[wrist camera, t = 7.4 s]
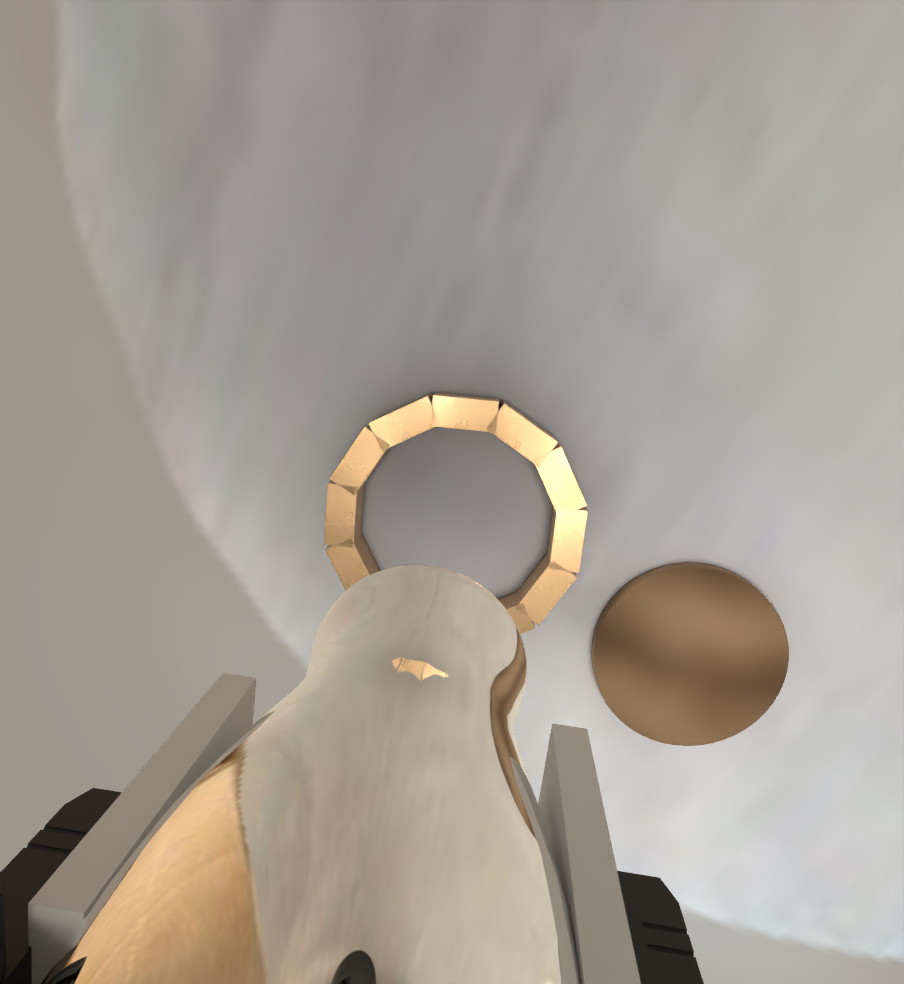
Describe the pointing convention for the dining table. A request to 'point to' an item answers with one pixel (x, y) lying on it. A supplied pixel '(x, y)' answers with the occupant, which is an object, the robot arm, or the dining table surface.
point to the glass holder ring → (466, 414)
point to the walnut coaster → (689, 654)
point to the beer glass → (355, 821)
